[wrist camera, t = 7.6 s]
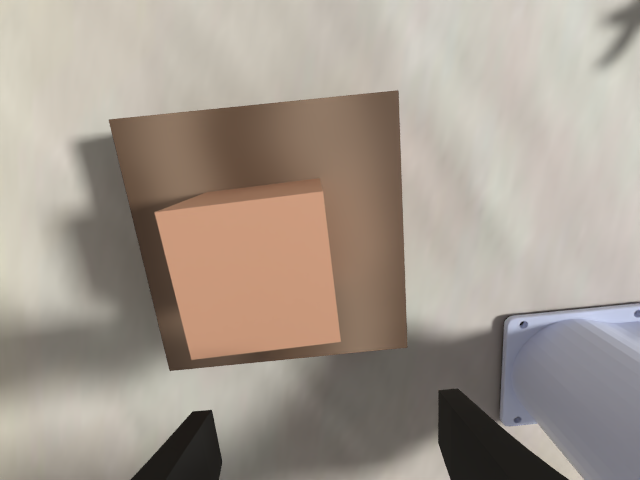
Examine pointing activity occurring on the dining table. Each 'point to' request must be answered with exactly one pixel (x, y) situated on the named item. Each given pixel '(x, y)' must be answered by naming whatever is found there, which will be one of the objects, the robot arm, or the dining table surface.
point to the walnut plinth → (271, 168)
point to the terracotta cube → (252, 268)
